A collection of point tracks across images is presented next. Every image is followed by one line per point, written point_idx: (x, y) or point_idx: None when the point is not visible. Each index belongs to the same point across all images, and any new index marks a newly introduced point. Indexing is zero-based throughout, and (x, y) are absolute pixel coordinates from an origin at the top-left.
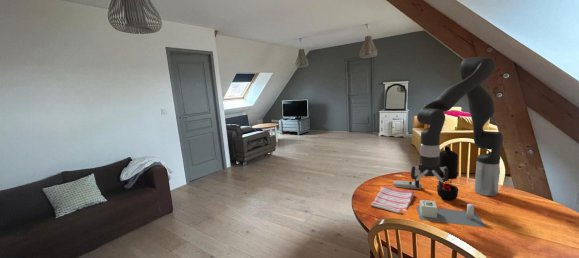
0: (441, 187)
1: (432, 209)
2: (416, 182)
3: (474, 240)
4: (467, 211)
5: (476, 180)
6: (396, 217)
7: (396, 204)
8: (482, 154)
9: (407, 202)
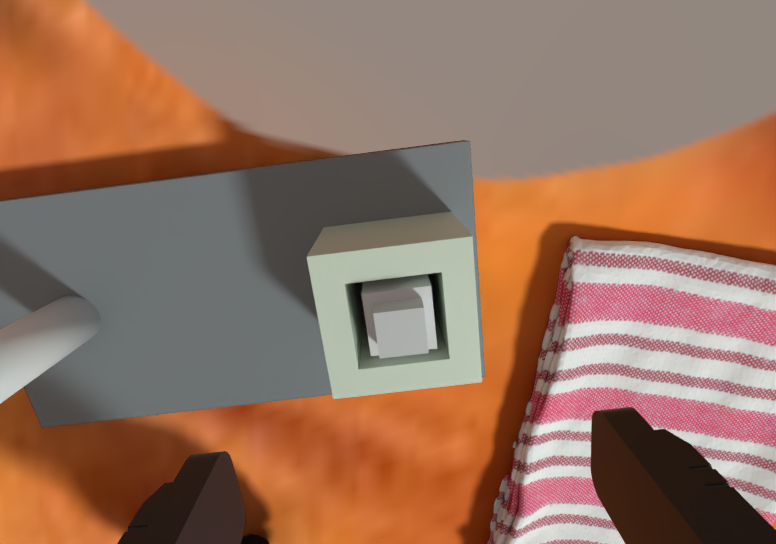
0: (163, 506)
1: (356, 243)
2: (738, 520)
3: (44, 5)
4: (47, 338)
5: None
6: (657, 160)
7: (642, 369)
8: None
9: (553, 415)
